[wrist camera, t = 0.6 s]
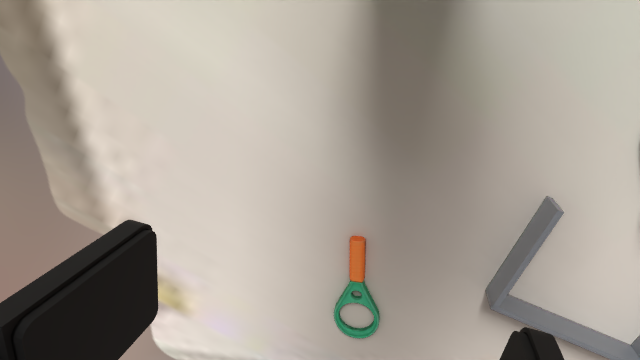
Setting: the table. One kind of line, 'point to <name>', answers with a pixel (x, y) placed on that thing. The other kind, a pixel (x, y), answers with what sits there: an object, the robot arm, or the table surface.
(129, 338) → the robot arm
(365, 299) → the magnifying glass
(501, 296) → the grey bent bar
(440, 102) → the table surface
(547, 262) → the table surface
